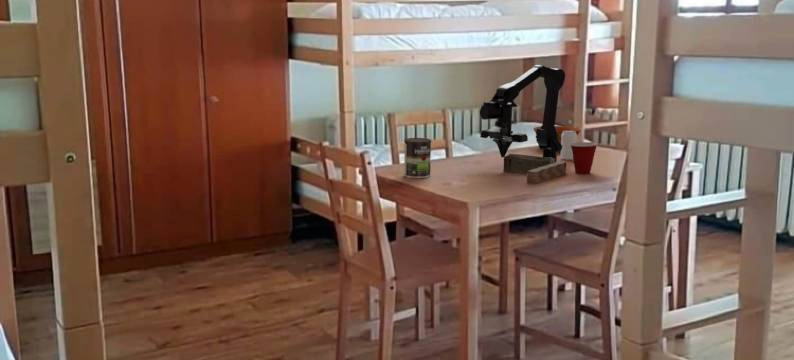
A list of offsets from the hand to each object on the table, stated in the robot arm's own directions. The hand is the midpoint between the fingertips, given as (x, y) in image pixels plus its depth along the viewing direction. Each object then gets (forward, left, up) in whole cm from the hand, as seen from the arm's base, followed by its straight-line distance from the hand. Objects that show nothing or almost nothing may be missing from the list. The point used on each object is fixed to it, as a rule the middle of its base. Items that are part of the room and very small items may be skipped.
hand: (502, 157), depth 326 cm
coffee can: (+31, -20, -5) cm, 37 cm away
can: (-39, +9, -5) cm, 41 cm away
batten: (+3, +21, -5) cm, 22 cm away
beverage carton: (-4, +10, -6) cm, 12 cm away
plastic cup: (-15, +27, -5) cm, 32 cm away
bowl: (-57, -6, -6) cm, 58 cm away
